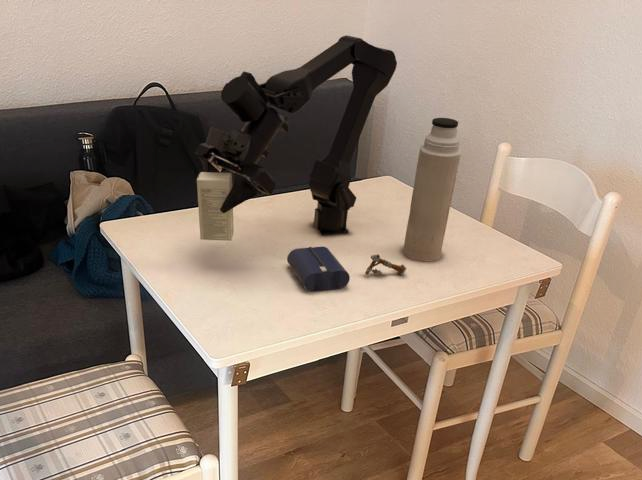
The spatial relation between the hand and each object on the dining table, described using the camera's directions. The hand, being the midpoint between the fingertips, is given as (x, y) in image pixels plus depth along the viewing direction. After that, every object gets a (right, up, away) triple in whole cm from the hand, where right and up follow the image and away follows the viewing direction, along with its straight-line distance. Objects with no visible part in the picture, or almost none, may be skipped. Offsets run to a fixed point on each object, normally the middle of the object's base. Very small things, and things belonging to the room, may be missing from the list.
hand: (209, 205), depth 127 cm
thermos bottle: (+44, -6, +18) cm, 48 cm away
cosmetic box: (+1, -5, +5) cm, 7 cm away
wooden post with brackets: (+35, -12, +8) cm, 38 cm away
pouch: (+21, -13, +6) cm, 25 cm away
